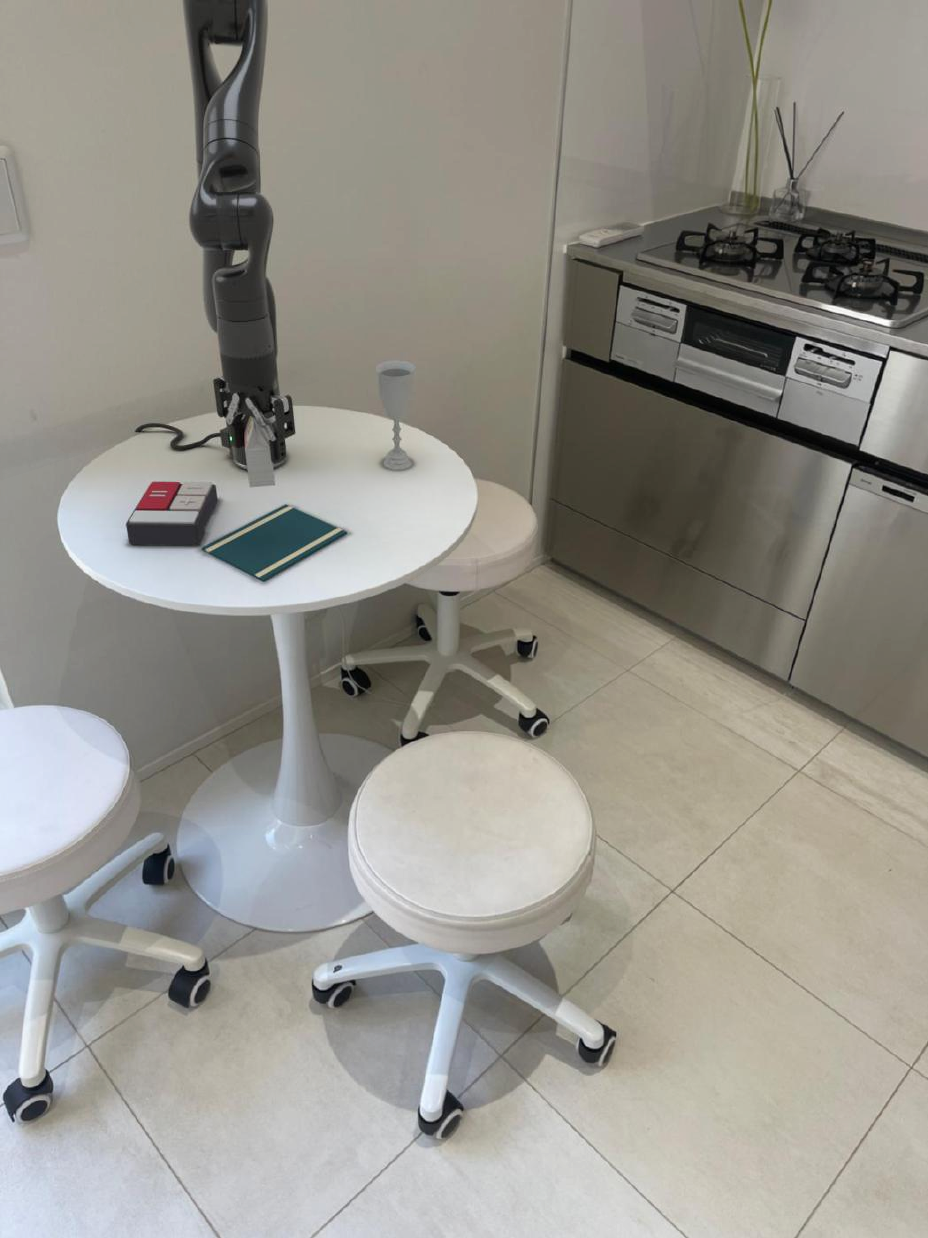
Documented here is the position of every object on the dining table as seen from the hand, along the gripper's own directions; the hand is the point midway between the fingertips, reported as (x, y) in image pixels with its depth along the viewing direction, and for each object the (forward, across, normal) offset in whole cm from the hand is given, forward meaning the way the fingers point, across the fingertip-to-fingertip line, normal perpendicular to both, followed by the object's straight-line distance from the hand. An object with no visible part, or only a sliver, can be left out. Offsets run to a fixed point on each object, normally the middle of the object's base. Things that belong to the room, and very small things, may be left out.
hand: (259, 453), depth 142 cm
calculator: (+15, +16, +5) cm, 23 cm away
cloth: (+15, -1, -1) cm, 15 cm away
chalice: (+15, +2, -34) cm, 37 cm away
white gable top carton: (+4, 0, 0) cm, 4 cm away
